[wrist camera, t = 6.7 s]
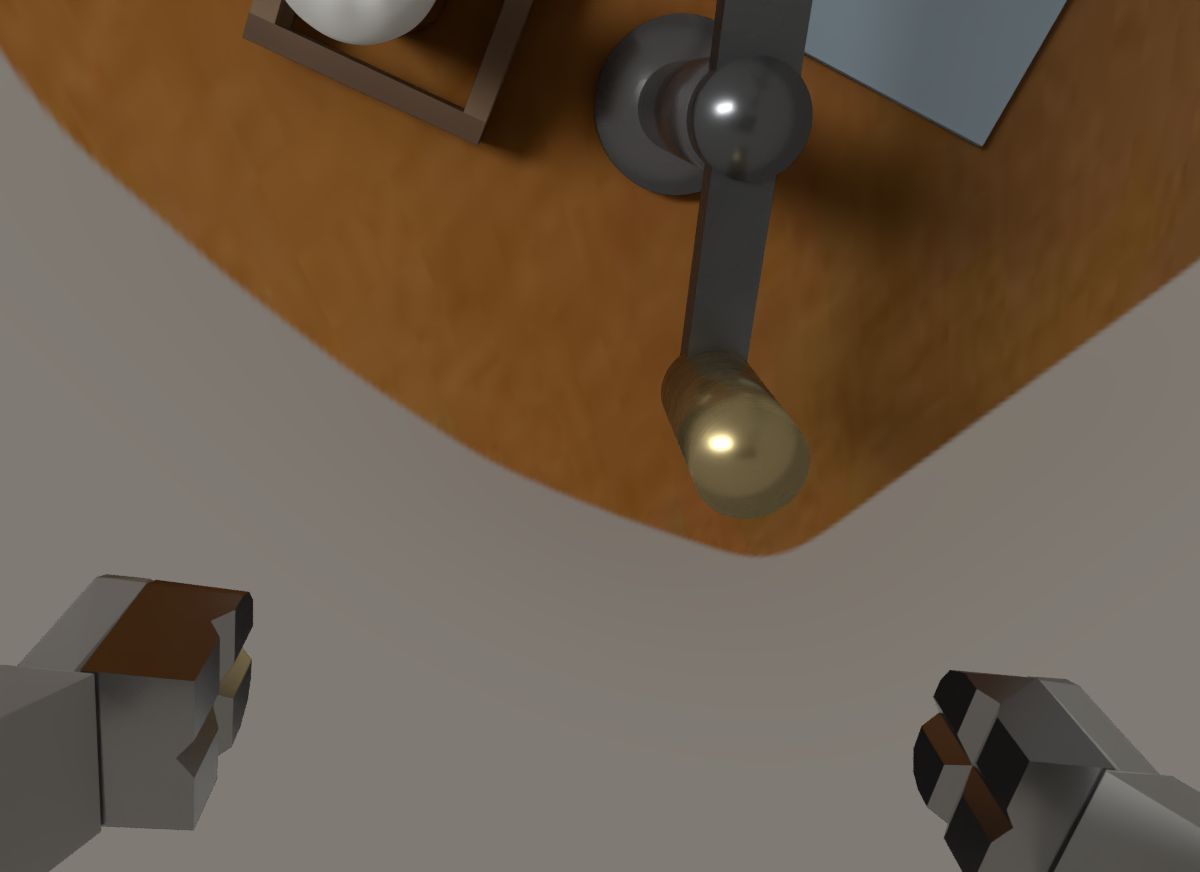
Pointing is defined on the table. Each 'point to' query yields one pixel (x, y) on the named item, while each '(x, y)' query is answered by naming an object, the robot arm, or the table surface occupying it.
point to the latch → (739, 259)
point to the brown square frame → (275, 34)
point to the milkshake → (367, 18)
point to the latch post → (654, 102)
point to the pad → (934, 53)
